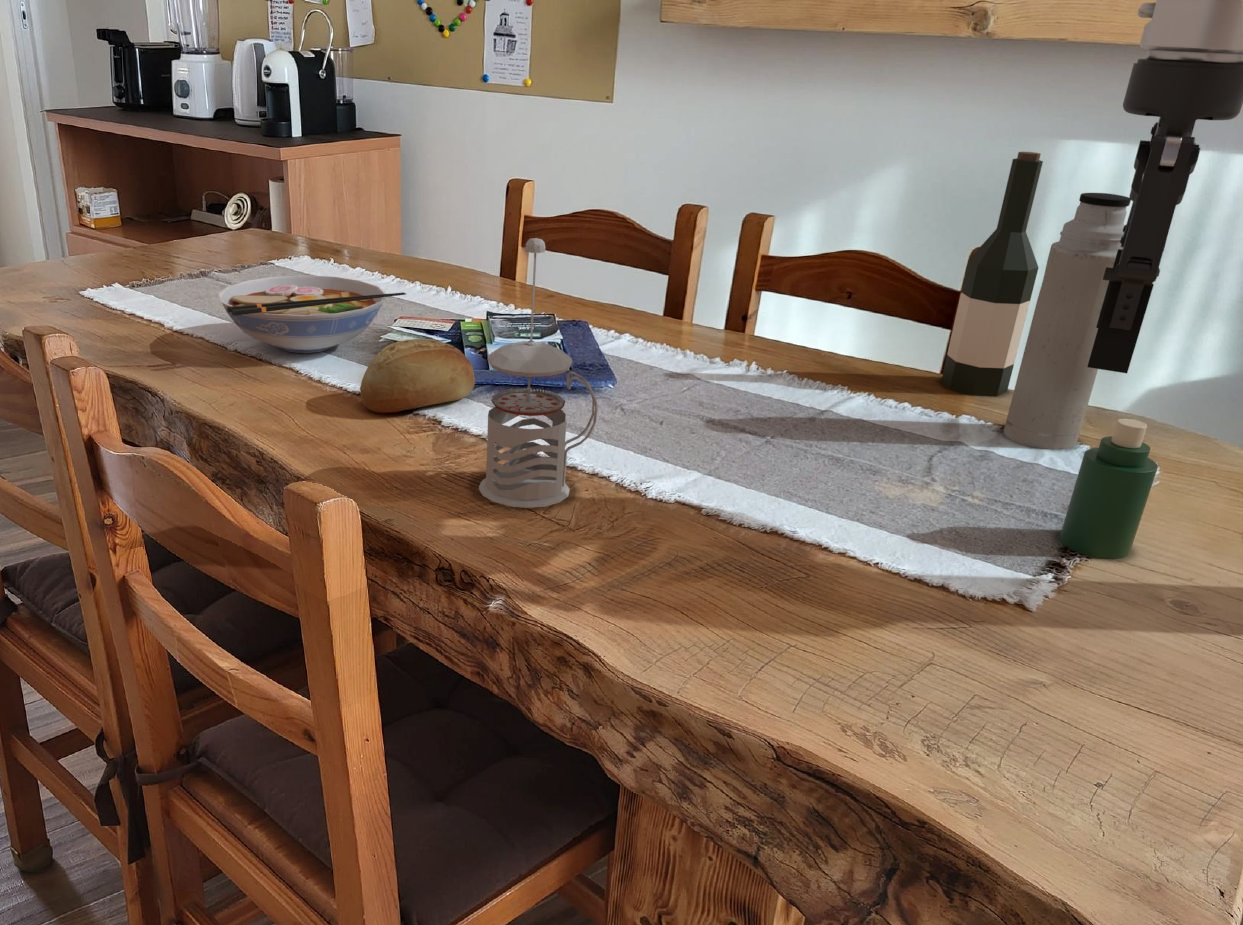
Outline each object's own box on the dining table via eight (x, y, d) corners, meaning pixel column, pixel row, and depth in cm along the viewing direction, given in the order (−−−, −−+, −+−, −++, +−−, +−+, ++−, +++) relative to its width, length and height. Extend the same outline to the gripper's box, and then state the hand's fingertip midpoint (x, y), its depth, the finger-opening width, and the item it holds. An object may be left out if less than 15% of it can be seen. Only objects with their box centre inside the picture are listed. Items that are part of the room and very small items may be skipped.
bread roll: (493, 407, 131) (495, 342, 127) (384, 427, 123) (383, 359, 120) (452, 384, 138) (453, 323, 134) (346, 403, 130) (344, 338, 127)
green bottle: (1130, 544, 103) (1171, 420, 97) (1126, 568, 98) (1169, 439, 92) (1061, 528, 105) (1097, 407, 100) (1055, 551, 101) (1092, 425, 95)
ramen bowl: (353, 317, 166) (352, 263, 162) (422, 356, 149) (422, 297, 145) (192, 335, 154) (186, 278, 150) (247, 381, 136) (242, 317, 133)
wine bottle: (942, 376, 150) (993, 146, 136) (1006, 385, 147) (1065, 152, 133) (938, 393, 143) (992, 153, 129) (1006, 403, 140) (1068, 159, 126)
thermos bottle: (1004, 423, 133) (1065, 186, 120) (1075, 435, 130) (1145, 193, 117) (1001, 444, 126) (1065, 195, 113) (1076, 457, 123) (1150, 203, 111)
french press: (473, 472, 113) (478, 226, 101) (583, 473, 113) (601, 229, 102) (477, 512, 104) (484, 247, 93) (596, 512, 105) (617, 250, 94)
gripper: (1139, 51, 88) (1070, 309, 98) (1132, 57, 68) (1046, 379, 78) (1245, 56, 85) (1163, 321, 95) (1270, 64, 65) (1163, 398, 75)
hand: (1110, 348), depth 86 cm, fingers open, 13 cm apart
